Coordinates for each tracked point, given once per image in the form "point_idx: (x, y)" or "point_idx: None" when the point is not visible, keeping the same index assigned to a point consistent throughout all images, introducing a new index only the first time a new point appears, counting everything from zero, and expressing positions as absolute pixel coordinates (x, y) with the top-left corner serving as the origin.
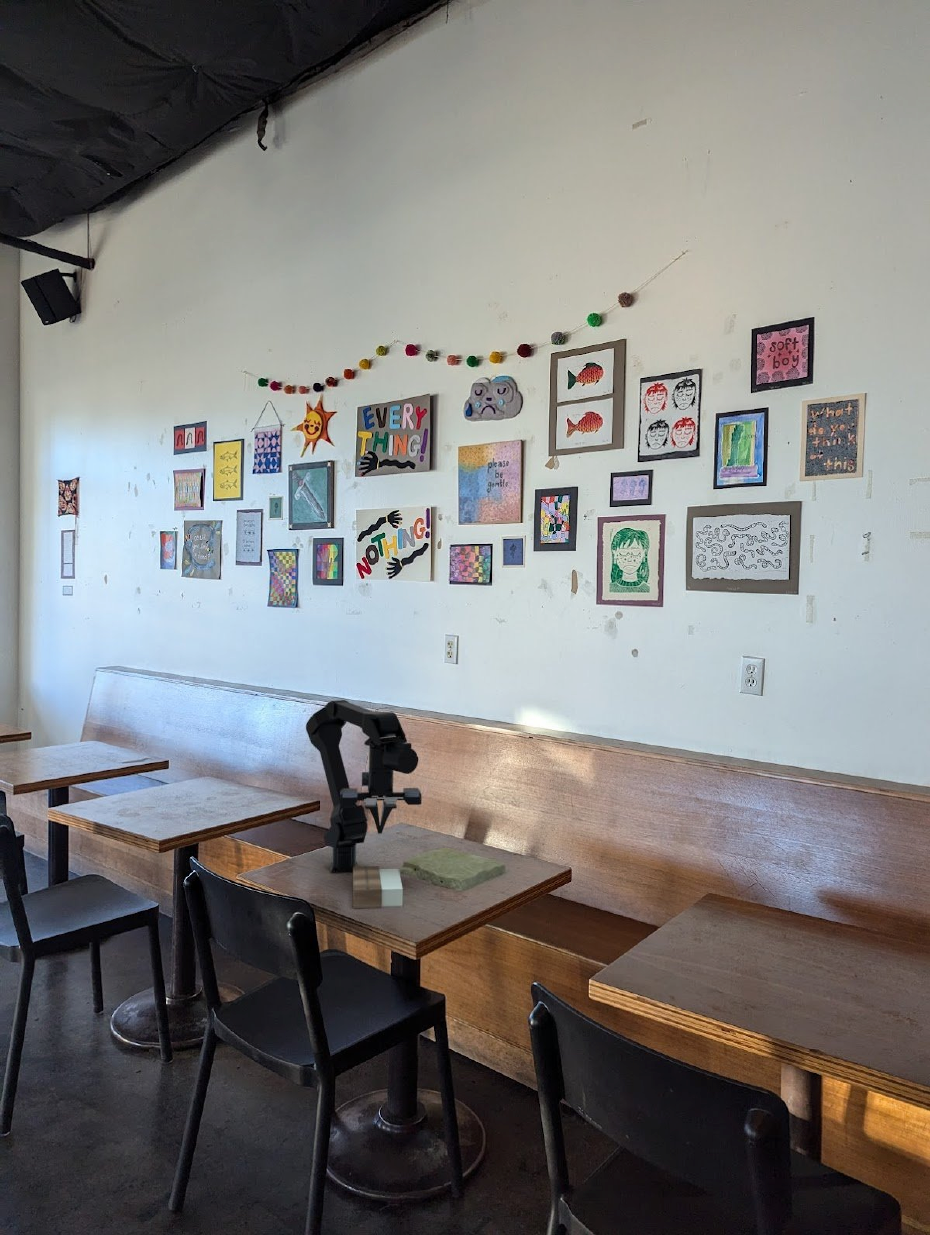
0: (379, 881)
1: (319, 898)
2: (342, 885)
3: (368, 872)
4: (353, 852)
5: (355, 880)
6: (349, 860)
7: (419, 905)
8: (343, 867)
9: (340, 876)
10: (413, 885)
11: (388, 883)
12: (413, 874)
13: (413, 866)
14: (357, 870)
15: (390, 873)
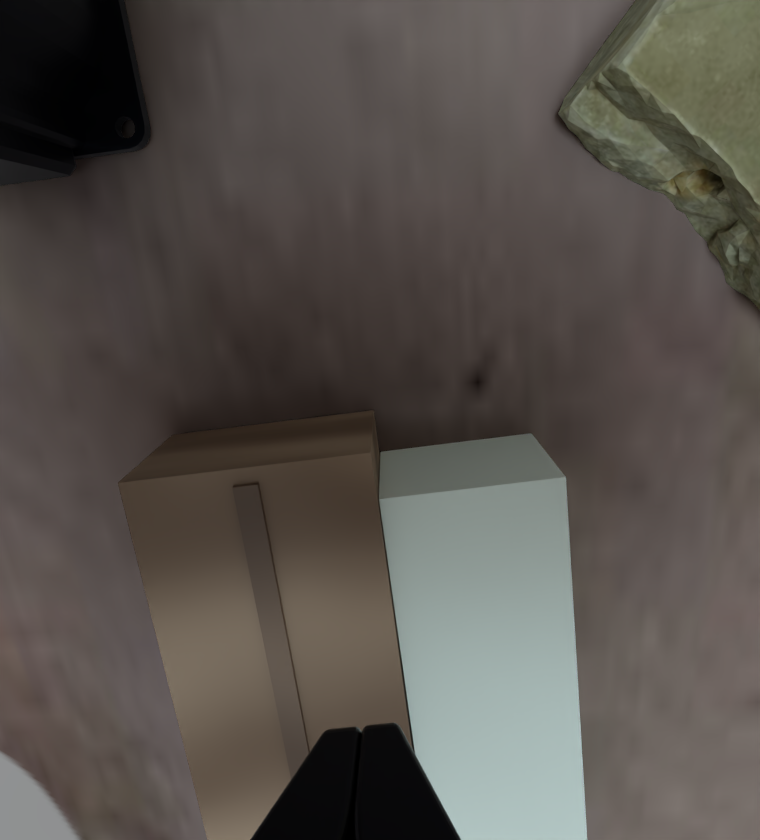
0: None
1: (18, 720)
2: (104, 476)
3: (294, 639)
4: (2, 40)
5: (217, 819)
6: (20, 159)
7: (665, 798)
8: (3, 178)
9: (31, 260)
10: (652, 446)
11: (483, 828)
12: (674, 193)
13: (707, 158)
14: (184, 591)
15: (492, 611)
